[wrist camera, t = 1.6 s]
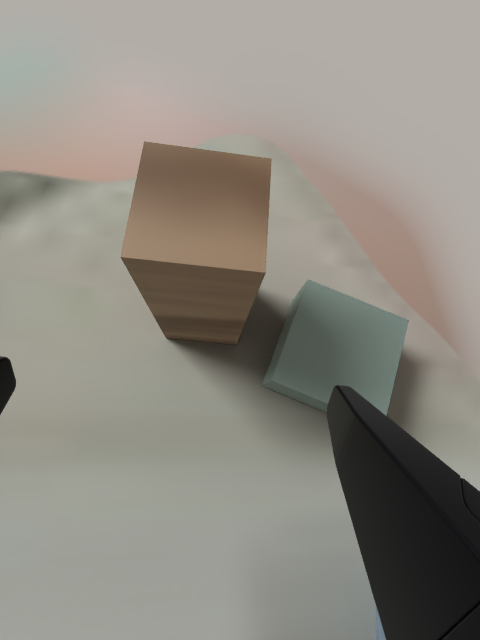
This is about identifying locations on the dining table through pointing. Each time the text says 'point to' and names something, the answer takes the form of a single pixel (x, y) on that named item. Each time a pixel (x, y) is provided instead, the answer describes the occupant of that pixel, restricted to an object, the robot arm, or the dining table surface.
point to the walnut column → (198, 239)
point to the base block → (336, 349)
